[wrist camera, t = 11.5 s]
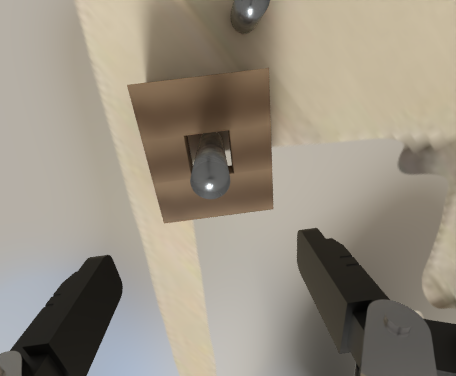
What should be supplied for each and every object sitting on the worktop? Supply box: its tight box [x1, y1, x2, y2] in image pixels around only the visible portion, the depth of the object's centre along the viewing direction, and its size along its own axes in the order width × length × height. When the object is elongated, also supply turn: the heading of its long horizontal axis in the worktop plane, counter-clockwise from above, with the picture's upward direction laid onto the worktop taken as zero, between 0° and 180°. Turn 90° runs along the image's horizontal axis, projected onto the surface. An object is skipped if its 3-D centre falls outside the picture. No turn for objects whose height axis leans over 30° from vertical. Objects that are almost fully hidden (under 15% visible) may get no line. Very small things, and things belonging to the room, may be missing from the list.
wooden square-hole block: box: [127, 68, 273, 223], centre depth 28 cm, size 16×14×7 cm
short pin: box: [231, 0, 270, 33], centre depth 23 cm, size 3×3×6 cm
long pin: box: [190, 132, 230, 199], centre depth 25 cm, size 3×3×15 cm
